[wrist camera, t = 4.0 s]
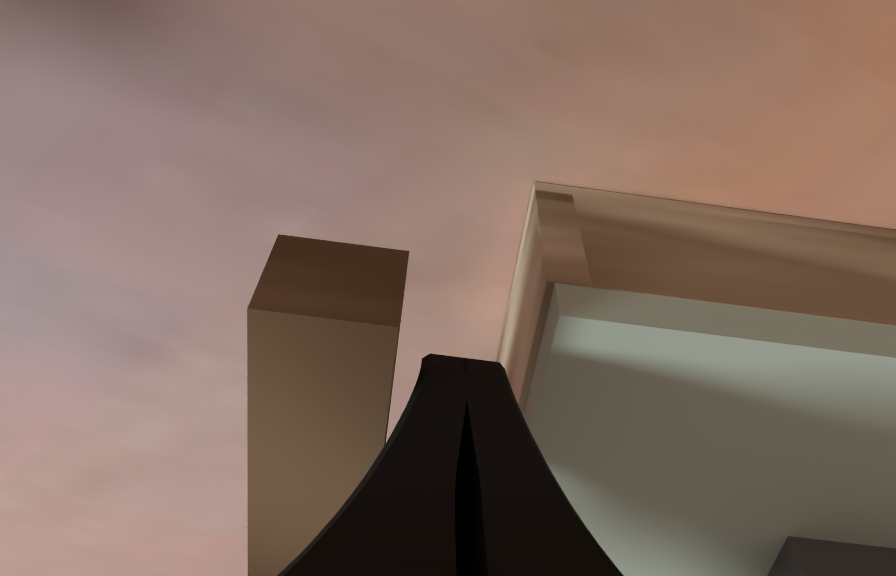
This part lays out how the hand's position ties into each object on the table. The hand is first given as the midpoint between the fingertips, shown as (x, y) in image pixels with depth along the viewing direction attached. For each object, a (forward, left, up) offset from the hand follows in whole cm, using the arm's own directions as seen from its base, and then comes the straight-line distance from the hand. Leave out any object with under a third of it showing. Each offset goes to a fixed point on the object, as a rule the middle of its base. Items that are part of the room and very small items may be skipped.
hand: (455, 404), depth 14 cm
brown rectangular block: (-4, +2, -1) cm, 5 cm away
